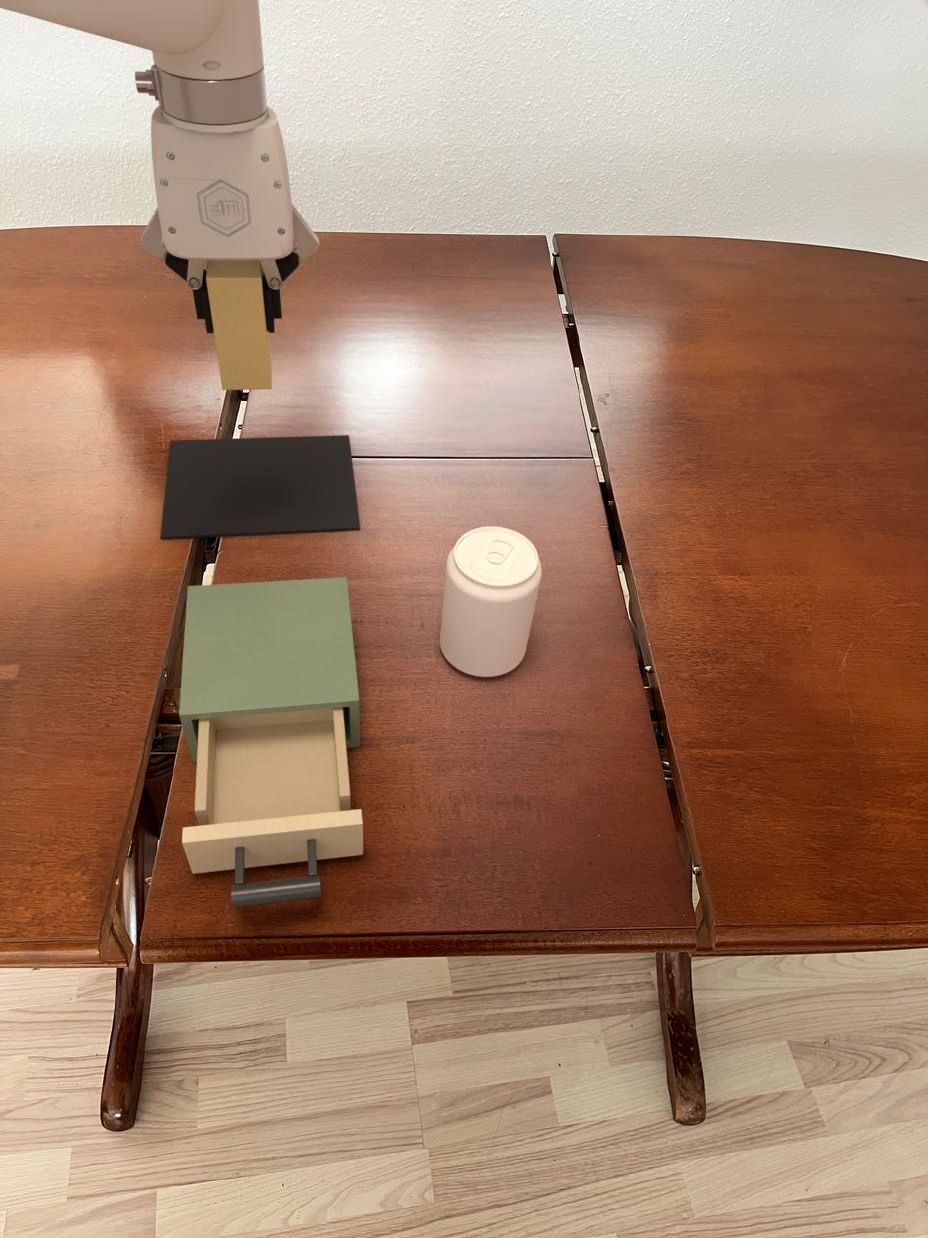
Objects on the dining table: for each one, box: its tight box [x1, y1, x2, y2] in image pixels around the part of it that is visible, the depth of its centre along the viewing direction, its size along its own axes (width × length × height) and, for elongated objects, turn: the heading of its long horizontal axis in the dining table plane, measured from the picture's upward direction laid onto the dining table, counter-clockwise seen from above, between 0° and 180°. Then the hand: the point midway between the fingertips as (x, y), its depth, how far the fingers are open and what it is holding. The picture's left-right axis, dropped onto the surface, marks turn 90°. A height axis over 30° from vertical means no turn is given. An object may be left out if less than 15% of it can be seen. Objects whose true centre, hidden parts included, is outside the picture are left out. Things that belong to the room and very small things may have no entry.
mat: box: [160, 434, 361, 541], centre depth 93 cm, size 20×16×1 cm
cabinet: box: [178, 576, 361, 763], centre depth 73 cm, size 14×14×7 cm
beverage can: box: [439, 525, 543, 678], centre depth 76 cm, size 8×8×12 cm
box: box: [206, 260, 273, 391], centre depth 75 cm, size 4×4×11 cm
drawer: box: [181, 707, 364, 909], centre depth 64 cm, size 17×12×5 cm
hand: (241, 323), depth 75 cm, fingers closed on box, 4 cm apart
